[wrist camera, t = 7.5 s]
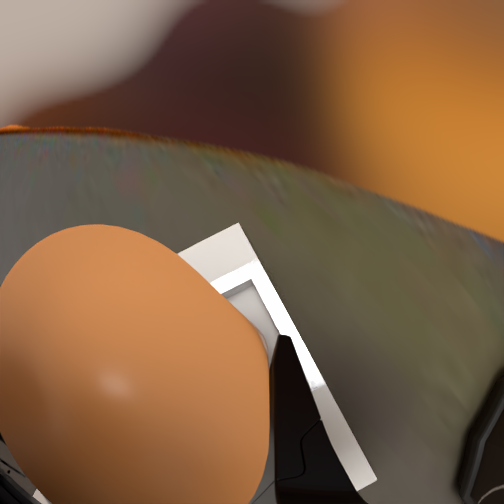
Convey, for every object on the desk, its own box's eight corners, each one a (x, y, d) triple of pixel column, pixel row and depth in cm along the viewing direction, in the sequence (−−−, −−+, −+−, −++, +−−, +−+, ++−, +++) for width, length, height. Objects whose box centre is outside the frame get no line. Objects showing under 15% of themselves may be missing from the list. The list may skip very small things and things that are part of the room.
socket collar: (319, 378, 15) (325, 383, 13) (204, 431, 14) (196, 441, 12) (258, 267, 17) (257, 258, 15) (150, 322, 16) (136, 319, 15)
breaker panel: (371, 473, 13) (387, 491, 10) (140, 540, 12) (126, 558, 9) (240, 229, 19) (235, 209, 16) (33, 340, 17) (7, 337, 14)
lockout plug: (274, 386, 14) (295, 549, 2) (196, 396, 14) (23, 502, 2) (261, 309, 15) (231, 188, 3) (184, 321, 15) (-16, 256, 3)
